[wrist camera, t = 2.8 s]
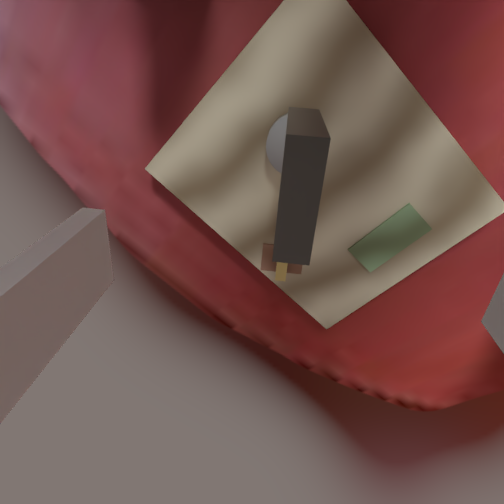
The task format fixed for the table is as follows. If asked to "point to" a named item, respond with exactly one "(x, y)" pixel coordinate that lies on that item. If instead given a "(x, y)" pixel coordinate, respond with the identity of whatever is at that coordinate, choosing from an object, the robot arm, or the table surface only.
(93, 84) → the table surface
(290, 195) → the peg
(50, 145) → the table surface
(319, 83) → the dial board
